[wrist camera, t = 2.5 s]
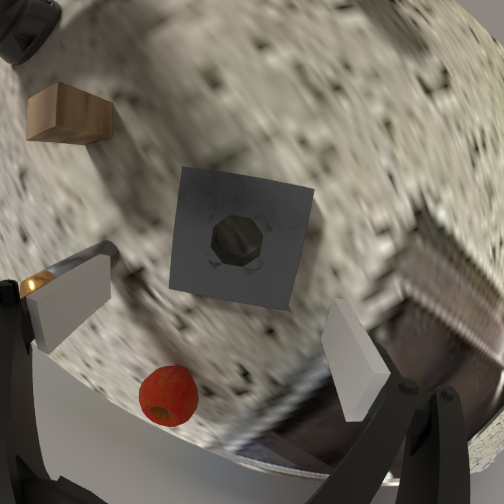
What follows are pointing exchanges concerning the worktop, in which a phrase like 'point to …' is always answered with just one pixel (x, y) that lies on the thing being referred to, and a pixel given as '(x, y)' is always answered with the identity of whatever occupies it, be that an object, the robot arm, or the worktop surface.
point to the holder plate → (232, 266)
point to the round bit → (69, 266)
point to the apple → (169, 396)
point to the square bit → (68, 116)
